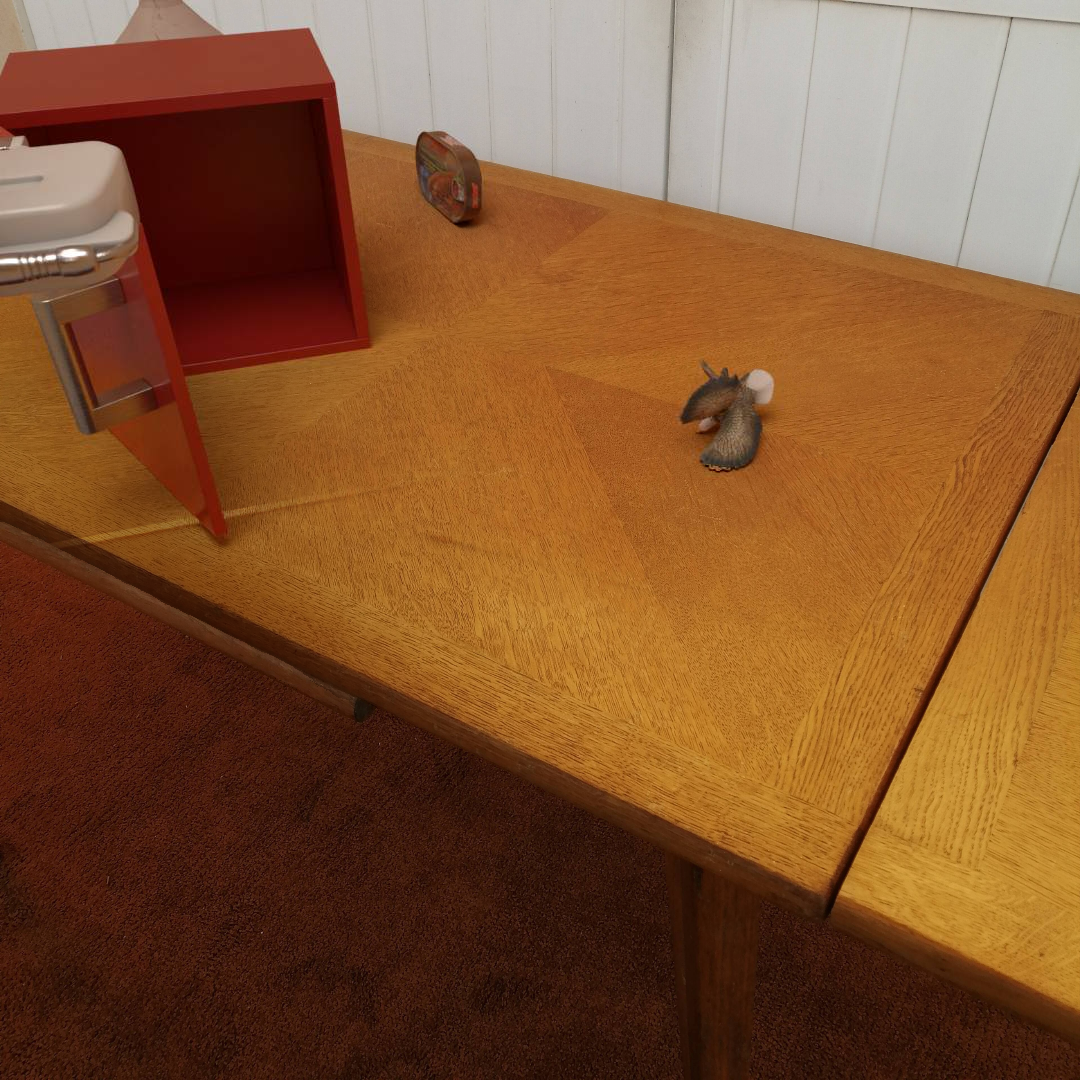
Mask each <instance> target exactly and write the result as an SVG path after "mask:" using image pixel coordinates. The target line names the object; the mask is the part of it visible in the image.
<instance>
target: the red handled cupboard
mask: <svg viewBox="0 0 1080 1080" xmlns="http://www.w3.org/2000/svg"><path fill="white" fill-rule="evenodd" d="M7 137H15V136H14V135H12V134H11V133H9V132H8V131H6V130H5V129H4V128H2V127H1V126H0V138H7ZM29 147H30V146H29ZM29 301H30V304H31V305H32V308H33V311H34V314H35V317H36V319H37V322H38V324H39V327H40V330H41V333H42V335H43V339H44V340H45V344H46V346H47V349H48V351H49V355H50V356H51V359H52V362H53V365H54V367H55V370H56V373H57V376H58V378H59V381H60V383H61V384H60V385H61V386H62V389H63V392H64V394H65V397H66V400H67V402H68V405H69V409H70V411H71V413H72V416H73V419H74V421H75V424H76V426H77V429H78V431H79V433H81V434H82V435H95V434H98V433H101V432H103V431H106V430H109V431H110V432H111V434H112V435H114V437H115V438H116V439H117V440H118V441H119V442H120V443H121V444H122V445H123V446H124V447H125V448H126V449H127V450H128V451H130V453H131V454H132V455H133V456H134V457H135V458H136V459H137V460H138V461H139V462H140V463H141V464H142V465H143V466H144V467H145V468H146V469H147V470H148V471H149V472H150V473H151V474H152V475H153V476H154V477H155V478H156V479H157V480H158V481H159V482H160V483H161V484H162V485H163V486H164V487H165V488H166V489H167V490H168V491H169V492H170V493H171V494H172V495H173V496H174V497H175V498H176V499H177V500H178V501H179V502H180V503H181V504H182V505H183V506H184V507H185V509H187V510H188V511H189V512H190V513H191V514H192V515H193V516H194V517H195V518H196V519H197V520H198V521H199V523H201V524H202V525H203V527H205V528H206V529H207V531H209V533H211V534H212V535H213V537H215V538H218V537H220V536H223V535H225V534H228V528H227V525H226V520H225V517H224V513H223V510H222V506H221V503H220V499H219V496H218V492H217V488H216V485H215V481H214V478H213V477H214V476H213V474H212V470H211V466H210V463H209V459H208V456H207V452H206V448H205V445H204V441H203V437H202V434H201V431H200V427H199V424H198V420H197V416H196V414H195V409H194V406H193V402H192V398H191V395H190V392H189V387H188V384H187V380H186V376H184V373H183V369H182V366H181V362H180V359H179V355H178V351H177V348H176V344H175V341H174V337H173V333H172V330H171V326H170V323H169V319H168V315H167V312H166V308H165V305H164V301H163V297H162V294H161V290H160V287H159V283H158V280H157V276H156V272H155V269H154V265H153V262H152V258H151V254H150V251H149V247H148V244H147V240H146V236H145V233H144V229H143V226H142V223H139V241H138V249H137V251H136V252H135V253H134V254H133V255H132V256H130V257H127V259H126V261H125V263H124V264H123V266H122V267H121V268H120V269H119V270H118V271H117V272H116V273H115V274H113V275H112V276H110V277H109V278H107V279H105V280H102V281H100V282H97V283H94V284H90V285H86V286H82V287H77V288H72V289H64V290H57V291H49V292H42V293H34V294H31V295H30V298H29Z"/></svg>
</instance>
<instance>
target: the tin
mask: <svg viewBox="0 0 1080 1080" xmlns="http://www.w3.org/2000/svg"><path fill="white" fill-rule="evenodd" d="M414 153H415V156H414V159H415V170H416V175H417V179H418V184H419V186H420V190H421V193H422V195H423V196H424V198H425V200H426V201H427V202H428V204H430V205H431V206H433V208H435V209H436V210H437V211H438V212H440V214H442V215H443V216H444V217H446V218H447V219H448V220H449V221H450V222H451V223H454V224H458V223H460V222H466V221H467V222H468V221H473V220H476V218H478V216H479V215H480V213H481V211H482V208H483V206H482V199H483V187H482V183H483V178H482V177H483V176H482V172H481V167H480V163H479V161H478V159H477V158H476V155H475V154H474V152H473V151H472V150H471V149H470V148H468V147H467V146H466V145H464V144H463V143H461V142H460V141H458V139H455V137H453V136H452V135H450V134H449V133H447V132H446V131H443V130H435V131H425V130H424V131H422V132H420V134H419V135H418V136H417V140H416V144H415V152H414Z"/></svg>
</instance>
